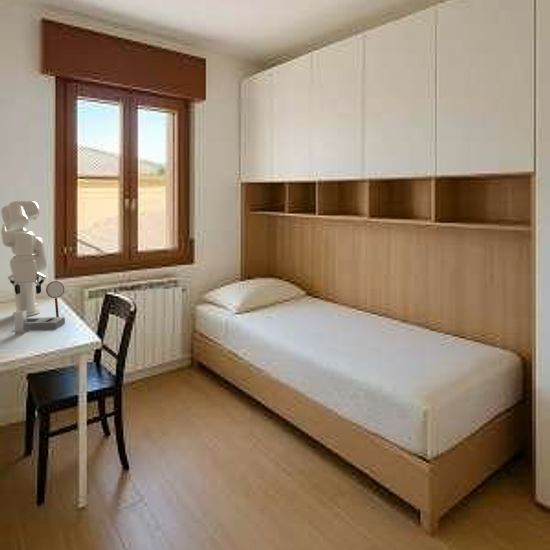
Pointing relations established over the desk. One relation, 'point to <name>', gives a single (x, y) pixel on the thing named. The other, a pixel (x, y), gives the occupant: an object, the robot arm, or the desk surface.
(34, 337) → the desk surface
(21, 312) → the square peg
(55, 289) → the magnifying glass
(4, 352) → the desk surface
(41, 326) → the bore block
